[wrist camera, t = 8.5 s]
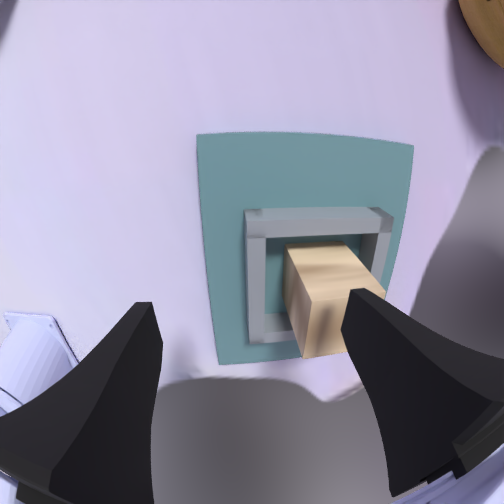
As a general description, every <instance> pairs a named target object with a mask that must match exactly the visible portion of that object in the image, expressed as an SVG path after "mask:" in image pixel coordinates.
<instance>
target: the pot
mask: <svg viewBox="0 0 504 504" xmlns="http://www.w3.org/2000/svg"><path fill="white" fill-rule="evenodd" d="M458 1H459V4H460V8H461V11H462V14H463V16H464V19H465V21H466V23H467V25H468V27H469V29H470V30H471V32H472V34H473V36H474V37H475V39H476V40H477V42H478V43H479V45H480V46H481V47H482V48H483V50H484V51H485V52H486V54H487V55H488V56H489V57H490V58H491V59H492V60H493V61H494V62H495V63H497V64H498V65H499V66H501V67H502V68H503V69H504V0H458Z"/></svg>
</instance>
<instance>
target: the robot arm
mask: <svg viewBox="0 0 504 504" xmlns="http://www.w3.org/2000/svg"><path fill="white" fill-rule="evenodd" d="M3 317H4V319H5V321H6V323H7V325H8V327H9V328H10V330H11V331H10V332H9V334H8V335H7V337H6V339H5V340H4V342H3V343H2V345H1V346H0V470H2V471H3V472H5V473H6V474H8V475H9V476H7V475H5V474H4V473H2V472H1V471H0V504H154V499H153V490H152V478H151V451H150V450H151V449H150V448H151V446H150V445H151V424H152V415H153V410H154V404H155V398H156V393H157V387H158V382H159V377H160V371H161V365H162V351H163V341H162V338H161V334H160V331H159V327H158V324H157V320H156V316H155V312H154V309H153V305H152V302H136V303H135V304H134V305H133V306H132V307H131V308H130V309H129V310H128V311H127V312H126V314H125V315H124V316H123V317H122V318H121V319H120V320H119V322H118V323H117V324H116V325H115V326H114V327H113V328H112V329H111V331H110V332H109V333H108V334H107V335H106V336H105V337H104V338H103V339H102V340H101V341H100V343H99V344H98V345H97V346H96V347H95V348H94V349H93V350H92V351H91V352H90V353H89V354H88V355H87V356H86V357H85V358H84V359H83V360H82V361H81V362H80V363H78V362H77V360H76V358H75V357H74V355H73V353H72V352H71V350H70V348H69V346H68V345H67V343H66V341H65V339H64V337H63V335H62V333H61V332H60V330H59V328H58V326H57V324H56V322H55V320H54V318H53V317H51V316H45V315H32V314H20V313H9V312H4V314H3ZM340 330H341V333H342V336H343V340H344V343H345V346H346V349H347V351H348V354H349V356H350V358H351V360H352V362H353V364H354V366H355V368H356V370H357V372H358V374H359V377H360V379H361V381H362V383H363V385H364V387H365V389H366V391H367V393H368V395H369V398H370V400H371V403H372V406H373V409H374V412H375V415H376V418H377V421H378V425H379V428H380V433H381V437H382V441H383V445H384V451H385V455H386V461H387V468H388V477H389V490H390V492H391V495H392V497H395V496H398V495H400V494H402V493H404V492H406V491H408V490H410V489H412V488H414V487H416V486H418V485H420V484H422V483H424V482H426V481H427V483H428V485H427V486H425V487H423V488H421V489H419V490H417V491H415V492H414V493H412V494H410V495H407V496H405V497H403V498H401V499H399V500H397V501H395V502H392V503H390V504H504V359H501V358H497V357H494V356H490V355H487V354H483V353H480V352H477V351H475V350H472V349H470V348H467V347H465V346H462V345H460V344H458V343H455V342H453V341H451V340H449V339H447V338H445V337H443V336H441V335H439V334H437V333H436V332H434V331H432V330H430V329H429V328H427V327H425V326H423V325H422V324H420V323H419V322H417V321H415V320H414V319H412V318H411V317H409V316H408V315H406V314H405V313H403V312H402V311H400V310H399V309H397V308H396V307H394V306H393V305H391V304H390V303H388V302H387V301H385V300H384V299H382V298H381V297H379V296H377V295H376V294H374V293H373V292H371V291H369V290H368V289H366V288H357V289H350V293H349V298H348V302H347V306H346V310H345V314H344V318H343V322H342V326H341V329H340ZM10 476H11V477H10Z"/></svg>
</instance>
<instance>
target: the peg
mask: <svg viewBox="0 0 504 504" xmlns="http://www.w3.org/2000/svg"><path fill="white" fill-rule="evenodd" d="M357 288H366V289H368V290H369V291H371V292H373V293H374V294H376V295H377V296H379V297H381V298H382V299H384V298H385V294H386V291H385V290H384V289H383V287H382V286H381V285H380V284H379V283H378V281H377V280H376V279H375V278H374V277H373V275H372V274H371V273H370V272H369V271H368V269H367V268H366V267H365V266H364V265H363V264H362V262H361V261H360V260H359V259H358V258H357V257H356V256H355V254H354V253H353V252H352V251H351V250H350V249H349V248H348V247H347V245H346V244H345V243H344V242H343V241H329V242H310V243H292V244H285V245H284V266H283V285H282V297H283V300H284V303H285V306H286V309H287V312H288V315H289V318H290V322H291V325H292V328H293V331H294V334H295V337H296V340H297V343H298V346H299V349H300V352H301V356H302V359H307V358H314V357H320V356H326V355H332V354H337V353H343V352H348V351H347V349H346V346H345V343H344V340H343V336H342V333H341V330H340V329H341V326H342V322H343V318H344V314H345V310H346V306H347V302H348V298H349V293H350V289H357Z"/></svg>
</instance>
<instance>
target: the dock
mask: <svg viewBox="0 0 504 504" xmlns="http://www.w3.org/2000/svg"><path fill="white" fill-rule="evenodd" d="M196 137H197V158H198V175H199V190H200V203H201V216H202V228H203V239H204V249H205V259H206V268H207V278H208V286H209V295H210V303H211V311H212V319H213V326H214V333H215V341H216V348H217V354H218V361H219V365H226V364H241V363H254V362H265V361H274V360H283V359H291V358H299V357H302V356H301V352H300V349H299V346H298V343H297V340H296V337H295V334H294V331H293V328H292V325H291V322H290V318H289V315H288V312H287V309H286V306H285V303H284V300H283V297H282V285H283V266H284V245H285V244H292V243H310V242H329V241H343V242H344V243H345V244H346V245H347V247H348V248H349V249H350V250H351V251H352V252H353V253H354V254H355V256H356V257H357V258H358V259H359V260H360V261H361V262H362V264H363V265H364V266H365V267H366V268H367V269H368V271H369V272H370V273H371V274H372V275H373V277H374V278H375V279H376V280H377V281H378V283H379V284H380V285H381V286H382V287H383V289H384V290H385V291H386V293H387V290H388V286H389V283H390V279H391V275H392V272H393V268H394V264H395V260H396V256H397V252H398V247H399V243H400V238H401V233H402V228H403V223H404V218H405V212H406V207H407V201H408V194H409V187H410V180H411V172H412V163H413V152H414V146H413V145H409V144H405V143H399V142H393V141H386V140H379V139H372V138H364V137H355V136H345V135H334V134H320V133H302V132H226V133H208V134H197V135H196ZM385 297H386V294H385ZM384 300H385V298H384Z"/></svg>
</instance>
